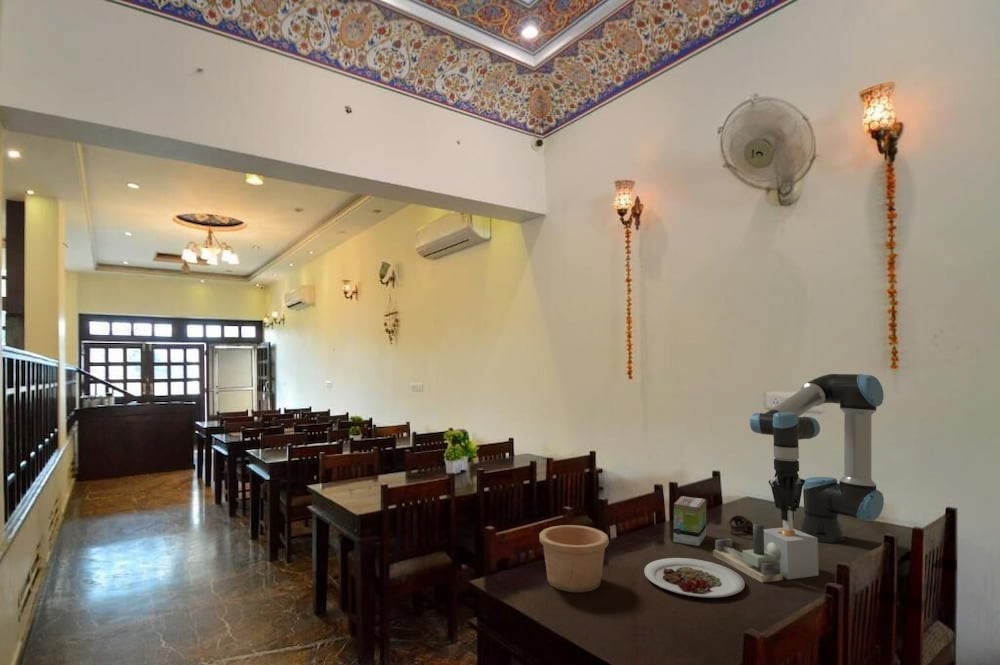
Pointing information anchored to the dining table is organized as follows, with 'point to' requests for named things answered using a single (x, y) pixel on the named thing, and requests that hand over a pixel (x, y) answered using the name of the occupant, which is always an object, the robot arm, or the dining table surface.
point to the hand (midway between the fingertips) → (787, 529)
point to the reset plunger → (787, 533)
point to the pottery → (574, 557)
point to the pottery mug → (740, 524)
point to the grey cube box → (793, 552)
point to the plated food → (694, 577)
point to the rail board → (735, 559)
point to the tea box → (689, 520)
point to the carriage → (758, 548)
